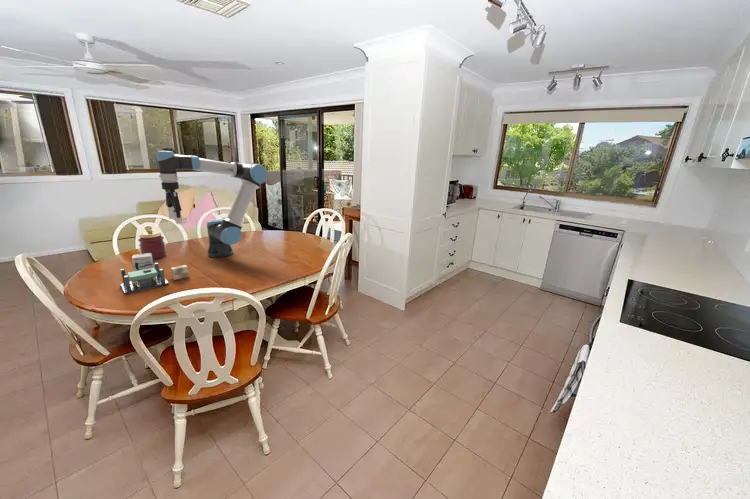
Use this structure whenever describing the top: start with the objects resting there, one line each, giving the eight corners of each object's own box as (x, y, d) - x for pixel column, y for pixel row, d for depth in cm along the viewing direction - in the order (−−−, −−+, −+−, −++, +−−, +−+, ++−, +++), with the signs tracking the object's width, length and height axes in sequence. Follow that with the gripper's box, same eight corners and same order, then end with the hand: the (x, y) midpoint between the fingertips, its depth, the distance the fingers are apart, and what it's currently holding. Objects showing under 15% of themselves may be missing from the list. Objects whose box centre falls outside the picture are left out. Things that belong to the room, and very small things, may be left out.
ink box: (135, 278, 164) (131, 257, 160) (136, 275, 167) (131, 254, 164) (155, 275, 168) (151, 255, 165) (155, 272, 172) (151, 252, 168)
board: (154, 271, 162) (153, 266, 161) (157, 275, 156) (157, 270, 156) (128, 276, 154) (127, 271, 153) (130, 281, 149) (129, 276, 148)
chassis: (162, 276, 167) (160, 262, 165) (168, 284, 159) (166, 269, 156) (120, 285, 155) (117, 269, 152) (124, 294, 146) (121, 278, 144)
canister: (143, 261, 187) (137, 233, 182) (140, 255, 196) (135, 228, 191) (168, 257, 195) (163, 230, 190) (164, 252, 204) (160, 226, 199)
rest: (187, 274, 171) (185, 264, 169) (188, 276, 169) (187, 266, 167) (172, 278, 167) (170, 267, 165) (174, 279, 164) (172, 269, 162)
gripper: (155, 179, 168) (162, 217, 175) (167, 184, 152) (173, 226, 158) (171, 179, 173) (177, 216, 180) (184, 183, 157) (190, 224, 163)
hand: (175, 221), depth 169 cm, fingers open, 13 cm apart
